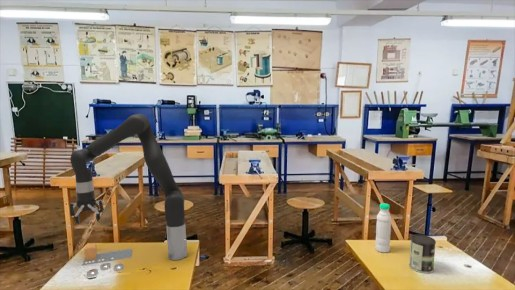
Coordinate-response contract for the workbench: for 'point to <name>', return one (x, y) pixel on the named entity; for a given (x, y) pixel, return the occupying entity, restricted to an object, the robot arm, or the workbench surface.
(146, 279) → the workbench surface
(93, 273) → the steel cylinder
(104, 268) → the steel cylinder
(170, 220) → the robot arm
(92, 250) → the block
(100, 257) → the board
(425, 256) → the coffee can
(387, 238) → the water bottle
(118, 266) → the steel cylinder
